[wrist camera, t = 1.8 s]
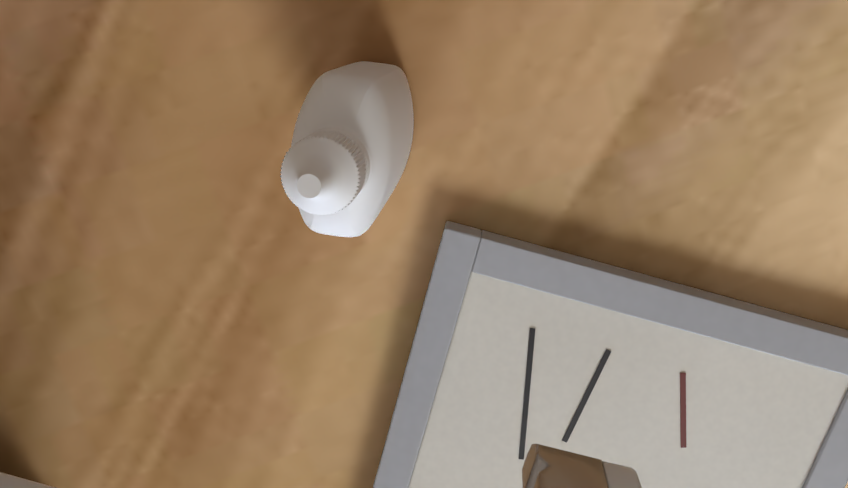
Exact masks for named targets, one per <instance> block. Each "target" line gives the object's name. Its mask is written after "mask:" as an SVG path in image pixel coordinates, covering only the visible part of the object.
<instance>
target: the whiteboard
mask: <svg viewBox="0 0 848 488" xmlns="http://www.w3.org/2000/svg"><path fill="white" fill-rule="evenodd" d="M532 444H540V445H544V446H548V447H552V448H556V449H560V450H564V451H568V452H572V453H576V454H580V455H584V456H588V457H592V458H596V459H600V460H602V461H605V462H609V463H614V464H618V465H623V466H627V467H632V468H633V469H634V470H636V472H637V475H638V478H639V481H640V484H641V487H642V488H845V486H846V484H847V481H848V330H846V329H842V328H838V327H835V326H831V325H827V324H824V323H820V322H817V321H813V320H809V319H806V318H802V317H798V316H795V315H791V314H787V313H784V312H780V311H776V310H773V309H769V308H765V307H762V306H758V305H754V304H751V303H747V302H744V301H740V300H736V299H733V298H729V297H725V296H722V295H718V294H714V293H711V292H707V291H703V290H700V289H696V288H692V287H689V286H685V285H682V284H678V283H674V282H671V281H667V280H663V279H660V278H656V277H652V276H649V275H645V274H641V273H638V272H634V271H630V270H627V269H623V268H619V267H616V266H612V265H609V264H605V263H601V262H598V261H594V260H590V259H587V258H583V257H579V256H576V255H572V254H568V253H565V252H561V251H557V250H554V249H550V248H546V247H543V246H539V245H536V244H532V243H528V242H525V241H521V240H517V239H514V238H510V237H506V236H503V235H499V234H495V233H492V232H488V231H484V230H482V232H481V230H480V229H476V228H473V227H469V226H466V225H462V224H458V223H455V222H451V221H446V224H445V227H444V231H443V234H442V238H441V242H440V245H439V249H438V253H437V256H436V260H435V263H434V267H433V271H432V274H431V278H430V282H429V285H428V289H427V293H426V296H425V300H424V303H423V307H422V311H421V314H420V318H419V322H418V325H417V329H416V332H415V336H414V340H413V343H412V347H411V351H410V354H409V358H408V361H407V365H406V369H405V372H404V376H403V380H402V383H401V387H400V390H399V394H398V398H397V401H396V405H395V409H394V412H393V416H392V419H391V423H390V427H389V430H388V434H387V438H386V441H385V445H384V449H383V452H382V456H381V459H380V463H379V467H378V470H377V474H376V478H375V481H374V485H373V488H523V484H522V467H523V465H524V462H525V459H526V456H527V453H528V451H529V449H530V447H531V445H532Z"/></svg>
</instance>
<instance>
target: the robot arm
mask: <svg viewBox="0 0 848 488" xmlns="http://www.w3.org/2000/svg"><path fill="white" fill-rule="evenodd" d="M522 484H523V488H642V487H641V484H640V481H639V478H638V475H637V472H636V470H634V469H633V468H632V467H627V466H623V465H618V464H614V463H609V462H605V461H602V460H600V459H596V458H592V457H588V456H584V455H580V454H576V453H572V452H568V451H564V450H560V449H556V448H552V447H548V446H544V445H540V444H532V445H531V447H530V449H529V451H528V453H527V456H526V459H525V462H524V465H523V467H522ZM0 488H56V487H52V486H49V485H45V484H41V483H38V482H34V481H31V480H27V479H23V478H20V477H16V476H13V475H9V474H5V473H2V472H0Z"/></svg>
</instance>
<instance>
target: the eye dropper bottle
mask: <svg viewBox="0 0 848 488" xmlns="http://www.w3.org/2000/svg"><path fill="white" fill-rule="evenodd" d="M413 128H414V115H413V104H412V97H411V92H410V88H409V84H408V81H407V78H406V75H405V73H404V72H403V71H402V69H401V68H399V67H397V66H395V65H391V64H384V63H376V62H367V61H361V62H355V63H352V64H349V65H345V66H342V67H339V68H336V69H333V70H330V71H328V72H325V73H323V74H322V75H321V76H320V77H319V78H318V79H317V80H316V81H315V83H314V84H313V86H312V87H311V89H310V91H309V92H308V94H307V96H306V98H305V101H304V103H303V105H302V107H301V110H300V113H299V115H298V118H297V122H296V125H295V129H294V133H293V139H292V146H291V148H290V149H289V151H288V152H286V154H287V155H285V156H284V157H285V159H283V163H282V167H281V170H282V171H281V174H282V175H281V178H282V180H281V181H282V182H283V183H282V185H283V186H284V187H283V189H284V190H285V193H287V196H288V197H289V200H292V203H295V206H298V208H299V210H300V213H301V216H302V218H303V220H304V222H305V224H306V225H307V226H308V227H309V228H310V229H311V230H313V231H315V232H317V233H321V234H326V235H333V236H340V237H356V236H360V235H362V234H363V233H364V232H365V231H367V230H368V229H369V227H370V226H371V225H372V223H373V222H374V220H375V219H376V217H377V216H378V214H379V213H380V211H381V210H382V208H383V207H384V205H385V203H386V202H387V200H388V199H389V197H390V195H391V194H392V192H393V190H394V189H395V187H396V185H397V183H398V182H399V180H400V178H401V176H402V173H403V171H404V169H405V166H406V163H407V160H408V157H409V153H410V149H411V144H412V138H413Z"/></svg>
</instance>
